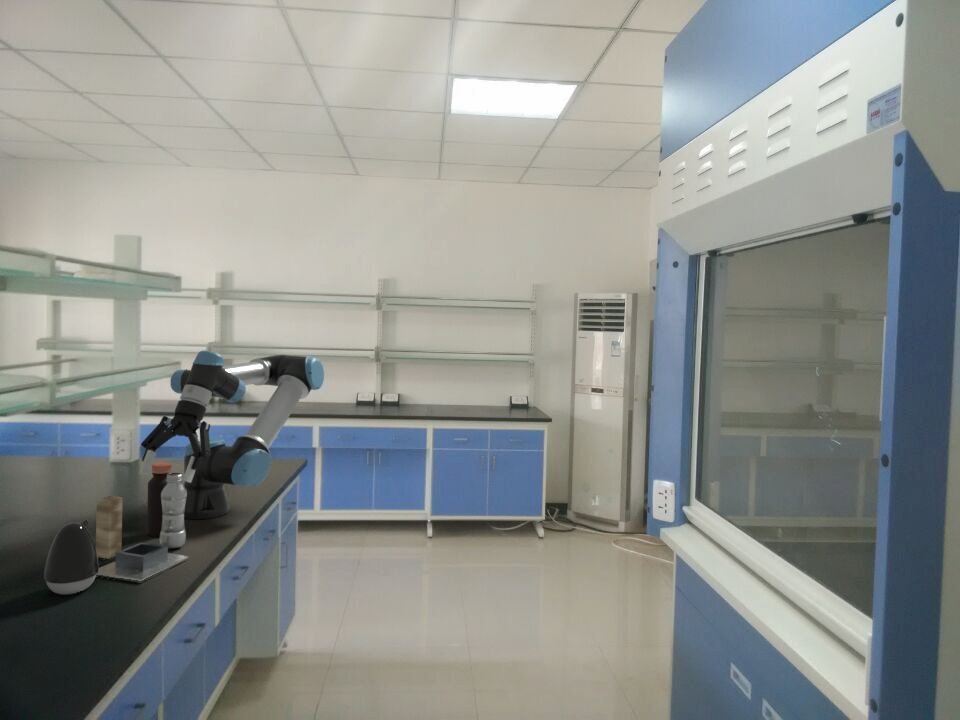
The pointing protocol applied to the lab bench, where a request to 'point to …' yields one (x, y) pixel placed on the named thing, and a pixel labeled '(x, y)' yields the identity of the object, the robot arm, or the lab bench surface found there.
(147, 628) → the lab bench surface
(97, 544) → the beech rail
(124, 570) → the grey socket base
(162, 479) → the vinegar
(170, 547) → the plastic bottle
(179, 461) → the lab bench surface
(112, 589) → the lab bench surface
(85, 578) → the dark grey egg shape
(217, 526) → the lab bench surface
